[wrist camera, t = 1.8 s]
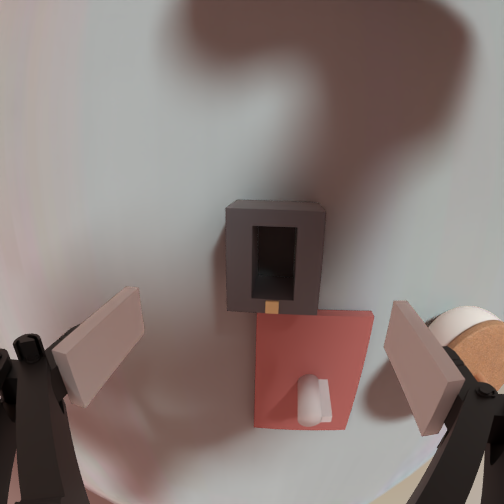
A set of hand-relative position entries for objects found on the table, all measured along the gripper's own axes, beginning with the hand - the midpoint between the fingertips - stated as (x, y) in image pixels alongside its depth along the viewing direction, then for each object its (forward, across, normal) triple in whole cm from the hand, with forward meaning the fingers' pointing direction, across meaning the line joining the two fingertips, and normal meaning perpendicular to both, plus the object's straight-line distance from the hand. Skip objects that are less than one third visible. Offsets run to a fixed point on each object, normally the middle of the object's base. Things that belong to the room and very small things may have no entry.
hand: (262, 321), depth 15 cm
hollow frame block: (+13, 0, 0) cm, 13 cm away
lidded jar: (+13, +20, -9) cm, 25 cm away
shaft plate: (+13, +4, -14) cm, 19 cm away
